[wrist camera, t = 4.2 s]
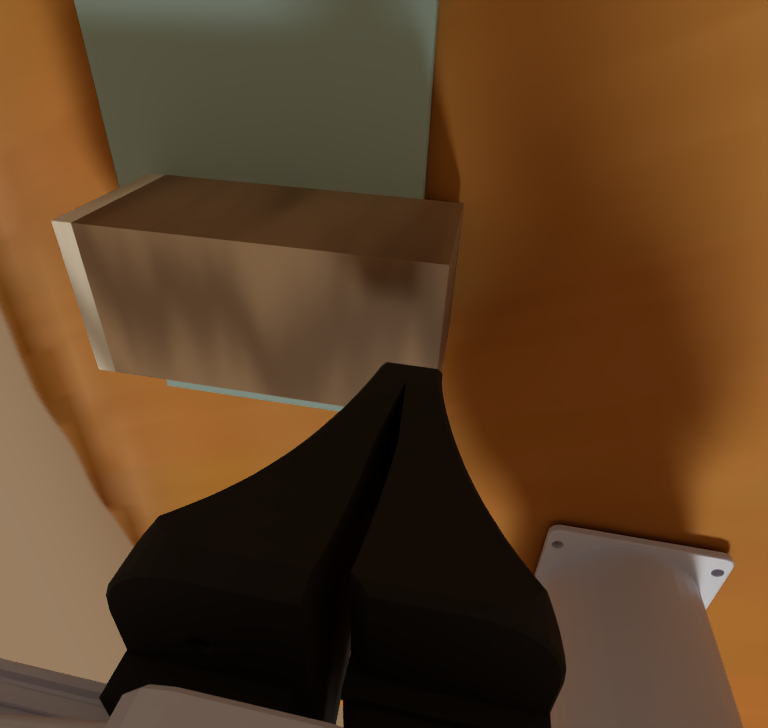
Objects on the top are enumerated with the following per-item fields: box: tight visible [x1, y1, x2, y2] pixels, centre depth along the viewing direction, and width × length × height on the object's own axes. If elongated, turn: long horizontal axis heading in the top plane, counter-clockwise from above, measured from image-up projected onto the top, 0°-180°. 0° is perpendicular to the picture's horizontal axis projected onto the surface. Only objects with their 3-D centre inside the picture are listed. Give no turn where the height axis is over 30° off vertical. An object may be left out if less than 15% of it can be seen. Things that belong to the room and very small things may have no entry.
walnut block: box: [51, 173, 464, 407], centre depth 18 cm, size 5×5×11 cm
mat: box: [74, 0, 439, 411], centre depth 19 cm, size 16×11×1 cm
